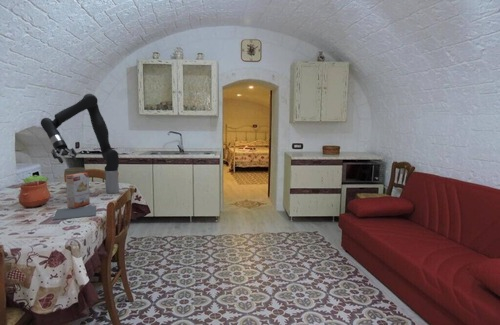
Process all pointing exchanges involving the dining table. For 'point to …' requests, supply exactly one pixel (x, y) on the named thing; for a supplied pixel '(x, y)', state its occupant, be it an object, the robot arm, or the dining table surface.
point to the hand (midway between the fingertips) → (68, 162)
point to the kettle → (35, 178)
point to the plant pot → (74, 171)
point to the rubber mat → (75, 212)
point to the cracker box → (77, 190)
